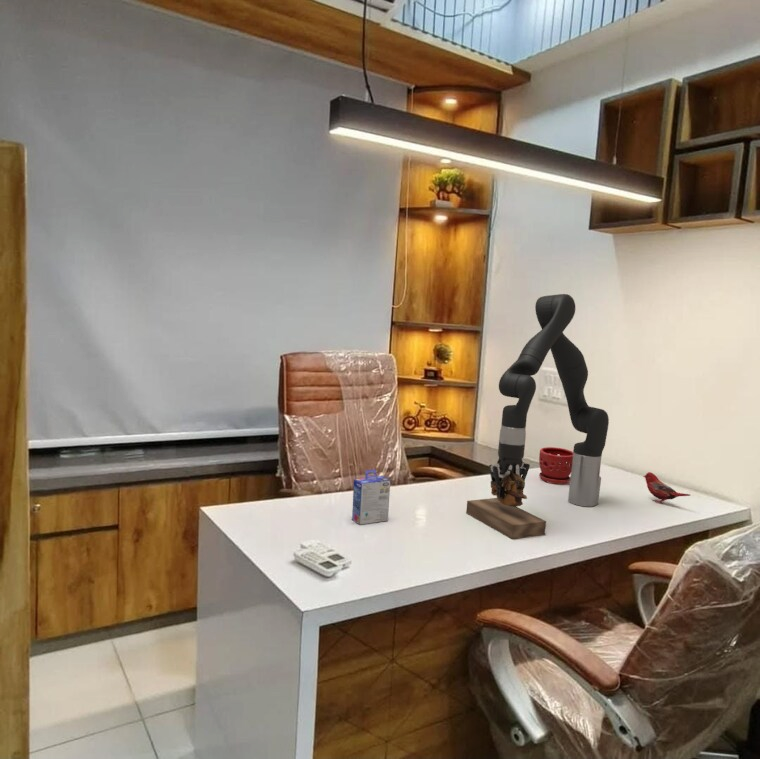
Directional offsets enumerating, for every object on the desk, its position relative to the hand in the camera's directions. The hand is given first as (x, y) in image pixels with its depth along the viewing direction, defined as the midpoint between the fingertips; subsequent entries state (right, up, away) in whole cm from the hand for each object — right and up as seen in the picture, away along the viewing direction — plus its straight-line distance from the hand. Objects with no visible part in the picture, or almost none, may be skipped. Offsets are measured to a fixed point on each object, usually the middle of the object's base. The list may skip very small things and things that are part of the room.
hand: (506, 497), depth 178 cm
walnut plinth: (-1, -8, +1) cm, 8 cm away
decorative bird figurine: (+62, -9, +32) cm, 70 cm away
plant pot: (+30, -4, +53) cm, 61 cm away
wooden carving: (0, -2, 0) cm, 3 cm away
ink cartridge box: (-41, -6, -4) cm, 41 cm away
